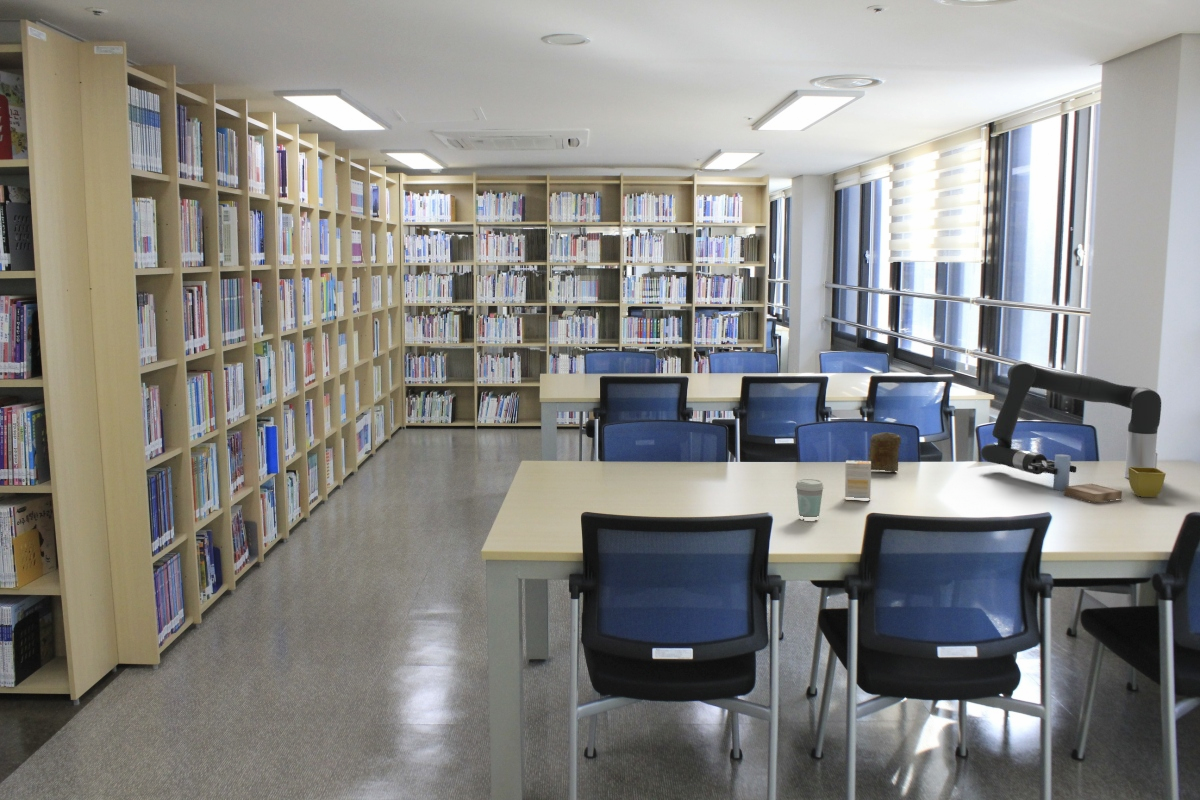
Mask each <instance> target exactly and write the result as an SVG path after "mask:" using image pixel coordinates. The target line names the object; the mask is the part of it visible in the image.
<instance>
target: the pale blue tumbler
mask: <svg viewBox="0 0 1200 800" xmlns="http://www.w3.org/2000/svg"><path fill="white" fill-rule="evenodd" d="M1054 461H1055V466H1054V468H1057V469H1058V474H1057V475H1054V474H1053V485H1052V486H1053V487H1052V488H1053V490H1054V489H1055V491H1058V490H1059V491H1060V492H1065V487H1066V486H1070V463H1071V455H1069V454H1062V453H1061V454H1054Z"/></svg>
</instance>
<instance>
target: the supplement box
mask: <svg viewBox="0 0 1200 800" xmlns="http://www.w3.org/2000/svg"><path fill="white" fill-rule="evenodd" d="M844 473H845V474H844V475H845V477H844V478H845V479H844V480H845V481H844V483H845V484H844V485H845V486H844V492H845V493H844V498H845V497H854V498H869V499H870V500H871V487H872V486H871V485H872V484H871V483H872V481H871V480H872V479H871V478H872V475H871V473H872V470H871V461H869V460H852V459H851V460H850V459H849V460H845V472H844Z"/></svg>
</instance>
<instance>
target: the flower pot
mask: <svg viewBox="0 0 1200 800" xmlns="http://www.w3.org/2000/svg"><path fill="white" fill-rule="evenodd" d="M1128 469H1129V478H1128V482H1129V486H1130V488H1131V490H1132V492H1133V494H1135V496H1136V495H1138V497H1139V496H1141V497H1140V498H1156V497H1157V496H1158V495H1159V494H1160V493H1161V491H1162V489H1163V487H1164V483H1165V479H1166V473H1165V472H1164V471H1162V470H1160V469H1159V468H1158V467H1156V468H1146V467H1128Z"/></svg>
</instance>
